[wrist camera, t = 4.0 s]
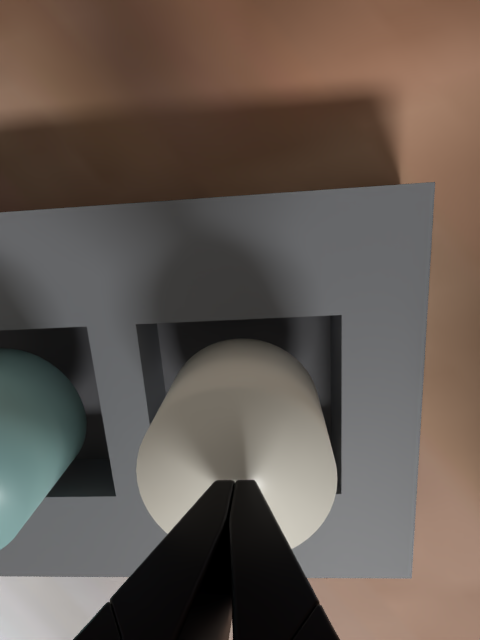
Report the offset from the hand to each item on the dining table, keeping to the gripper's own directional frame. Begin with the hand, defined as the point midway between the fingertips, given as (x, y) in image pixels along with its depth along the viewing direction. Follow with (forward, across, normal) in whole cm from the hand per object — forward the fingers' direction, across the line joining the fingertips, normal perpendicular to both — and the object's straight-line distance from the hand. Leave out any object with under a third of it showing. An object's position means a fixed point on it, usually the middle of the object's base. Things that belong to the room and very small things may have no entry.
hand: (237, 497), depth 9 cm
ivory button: (+4, 0, 0) cm, 4 cm away
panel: (+6, +7, 0) cm, 9 cm away
